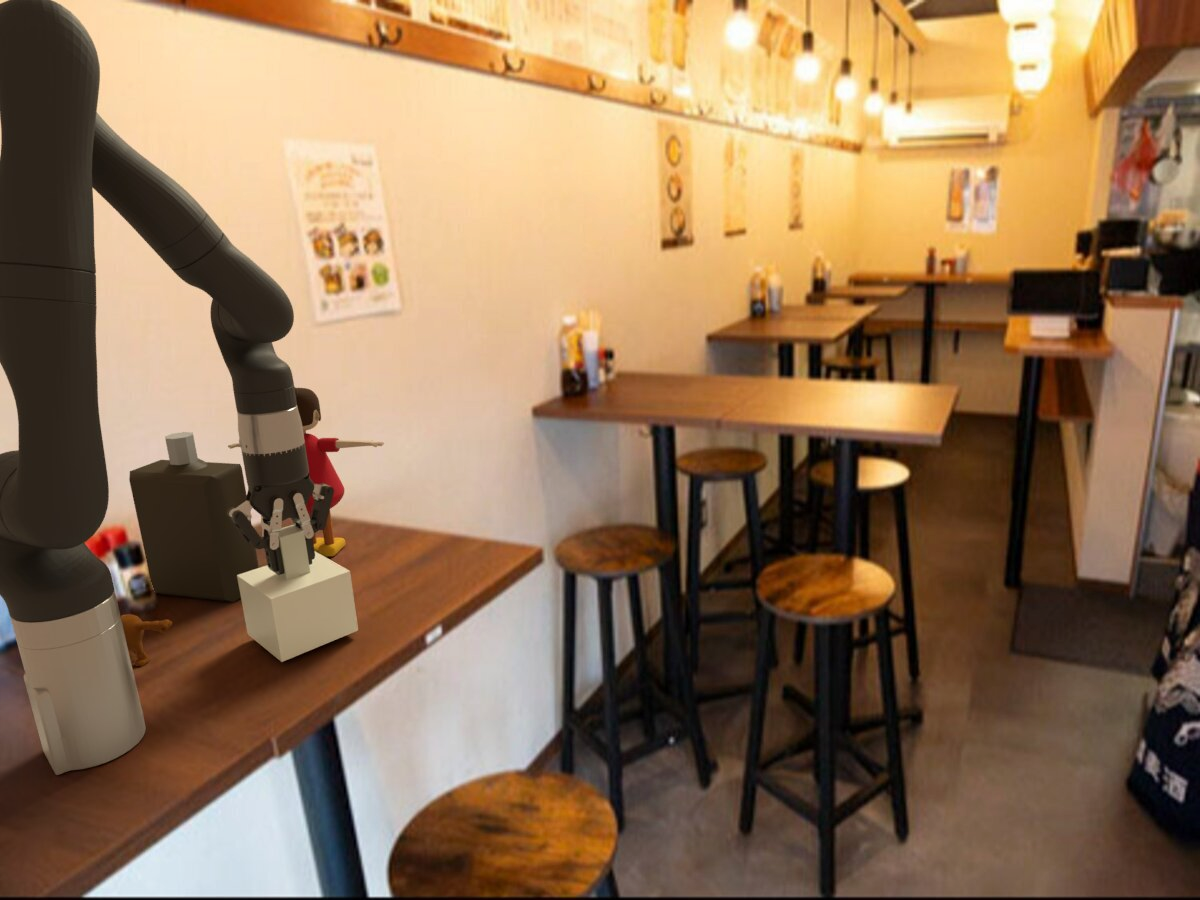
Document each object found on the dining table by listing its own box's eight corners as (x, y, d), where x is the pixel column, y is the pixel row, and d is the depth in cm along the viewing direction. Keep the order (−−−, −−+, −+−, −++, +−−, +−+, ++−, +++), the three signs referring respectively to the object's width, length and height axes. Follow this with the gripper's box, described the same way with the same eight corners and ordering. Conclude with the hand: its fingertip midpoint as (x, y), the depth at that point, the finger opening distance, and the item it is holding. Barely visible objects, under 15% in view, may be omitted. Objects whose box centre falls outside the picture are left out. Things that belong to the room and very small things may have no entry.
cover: (281, 662, 101) (263, 554, 97) (247, 634, 109) (229, 533, 105) (358, 630, 109) (344, 528, 104) (321, 606, 116) (306, 510, 112)
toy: (405, 543, 140) (386, 375, 132) (383, 568, 130) (361, 388, 122) (261, 542, 143) (233, 377, 135) (228, 567, 133) (196, 391, 125)
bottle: (233, 605, 119) (203, 444, 113) (147, 595, 124) (113, 440, 117) (268, 582, 127) (242, 430, 120) (185, 574, 131) (156, 426, 124)
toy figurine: (81, 670, 103) (69, 622, 101) (101, 655, 107) (90, 609, 105) (168, 671, 102) (158, 624, 100) (186, 656, 105) (176, 610, 104)
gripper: (227, 461, 94) (251, 595, 99) (338, 436, 103) (355, 558, 108) (204, 450, 99) (228, 577, 104) (312, 427, 108) (329, 544, 113)
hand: (293, 567), depth 106 cm, fingers closed on cover, 3 cm apart
